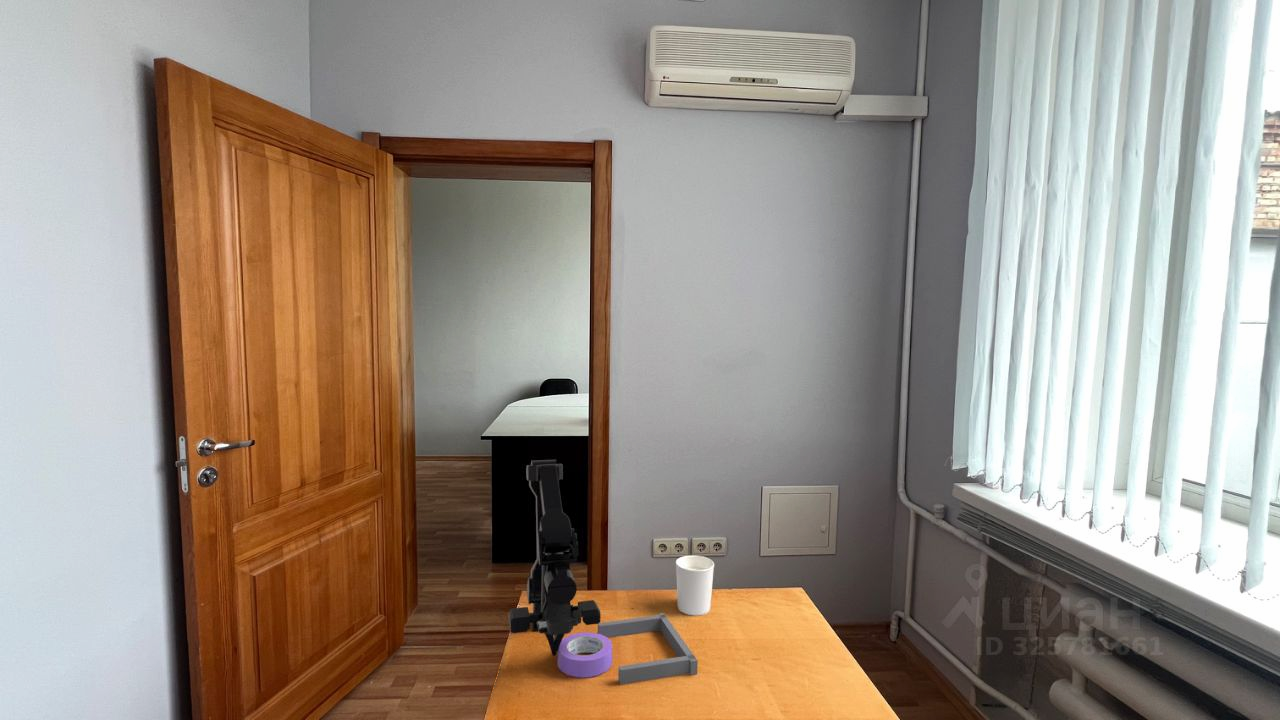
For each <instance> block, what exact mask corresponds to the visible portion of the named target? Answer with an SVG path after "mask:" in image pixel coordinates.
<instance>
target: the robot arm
mask: <svg viewBox="0 0 1280 720" xmlns="http://www.w3.org/2000/svg"><path fill="white" fill-rule="evenodd" d="M563 467H564V466H563V464H562V463H558V462H557V459H544V460H543V459H542V460H531V462H530V465H529V464H528V465H526V469H525V470H526V471H525V473H526V474H525V475H526V480H527V481H528V486H529V488H530V490H531V492H532V493H533V495H534V497H535V517H536V519H535V527H536V528H535V531H536V533H535V534H536V560H535V561H534V563H533V565H532V567H531V569H530V577H529V578H527V583H526V598H527V602H528V605H531V604H532V612H529V611H530V610H529V607H528V606H524V607H515V608H514V607H513V608H511V609H510V610H509V612H508V625H509V631H510V633H511V634H521V633H527V632H528V631H529V630H530V629H531V628H532V630H533V631H538V633H539V634H544V636H545V637H546V639H547V641H548V645H549V648H550V651H551V655H552V657H555V656H557V655H558V649H559V646H560V643H561V641H562V640H563V639H564V638H565V635H567V634H570V633H571V632H572V631H573V629H574V627H577V626H578V625H580V624H581V623H582V622H583V623H584V624H585V625H586V626H590V625H591V626H592V625H598V624H599V623H601V615H602V614H601V610H600V608H599V605H598V603H597V602H596V600H594V599H590V600H583V601H578V602H577V605H574V604H571V602H572V600H573V599H574V598H575V597H576V594H577V591H578V590H577V589H578V587H577V584H576V582H575V579H574V576H573V573H572V571H571V567H570V564H573V563H578V557H577V556H579V555H580V551H579V550H580V549H579V541H578V535H577V533H576V530H575V528H572V523H571V520H570V517H569V516H568V515H567V514H566V513H564V510H563V505H562V498H561V497H562V496H561V490H560V480H563V479H564V477H563V476H564V475H563V474H564V472H563V471H564V470H563V469H564V468H563ZM570 550H571V553H569V552H570ZM566 552H567V553H566Z"/></svg>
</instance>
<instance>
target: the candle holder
mask: <svg viewBox="0 0 1280 720" xmlns="http://www.w3.org/2000/svg"><path fill="white" fill-rule="evenodd" d="M675 567H676V569H675V571H676V572H675V573H676V596H677V597H676V599H677V609H678V610H679V611H680V612H681V613H682V614H685V615H687V616H703V615H706V614H708V613H709V612H710V611H711V604H712V595H713V594H712V593H713V592H712V591H713V582H714V581H713V580H714V579H713V578H714V569H715V562H714V561H713V560H712V559H710V558H708V557H706V556H701V555H685V556H681V557H678V558H677V559H676V560H675Z"/></svg>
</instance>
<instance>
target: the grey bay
mask: <svg viewBox="0 0 1280 720" xmlns="http://www.w3.org/2000/svg"><path fill="white" fill-rule="evenodd" d="M657 631H658V632H659V631H660V632H661V634H662V635H663V636H664V638H665V639H666V641H667V642H668V643H669V645H670V646H671V649H673V651H674V653H675V654H676V655H677V656H675V657H671V658H664V659H658V660H652V661H646V662H639V663H631V664H626V665H621V666H618V673H617V674H618V676H617V677H618V679H617V680H618V682H619V685H620V686H621V685H626V684H633V683H637V682H638V683H639V682H644V681H645V682H646V681H650V680H651V681H652V680H657V679H662V678H670V677H675V676H682V675H687V674H689V675H690V676H696V675H698V664H699V663H698V661H699V660H698V659H697V657H696V656H695V655H694V653H693V652H692V650H691V649H690V648H689V646H688V645H687V644H686V642H685V641H684V639H683V638H682V637H681V635H680V634H679V632H678V631H677V629H676V628H675V627H674V626H673V624H672V623H671V621H670V620H669V619H668V617H667V615H666V614H665V613H664V612H663V613H662V612H661V613H657V615H650V616H644V617H635V618H628V619H620V620H619V619H618V620H611V621H606V622H605V621H604V622H600V623H599V624H597V634H601V635H603V636H605V637H607V638H608V639H609V638H616V637H623V636H629V635H637V634H645V633H652V632H657Z"/></svg>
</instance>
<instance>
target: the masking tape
mask: <svg viewBox="0 0 1280 720" xmlns="http://www.w3.org/2000/svg"><path fill="white" fill-rule="evenodd" d="M584 653H586V654H587V653H589V654H587V655H583V654H584ZM612 664H613V642H612V640H610V639H609V638H607V637H605V636H603V635H601V634H598V632H597V633H596V632H588V631H587V632H578V633H573V634H570V635H568V636H565V637H563V639H562V641H561V643H560V646H559V649H558V651H557V667H558V669H559V671H561V672H562V673H564V674H565V675H567V676H569V677H574V678H593V677H597V676H600V675H602V674H604V673H605V672H607V671H608V670H609V669H610V668H611V666H612Z"/></svg>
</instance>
